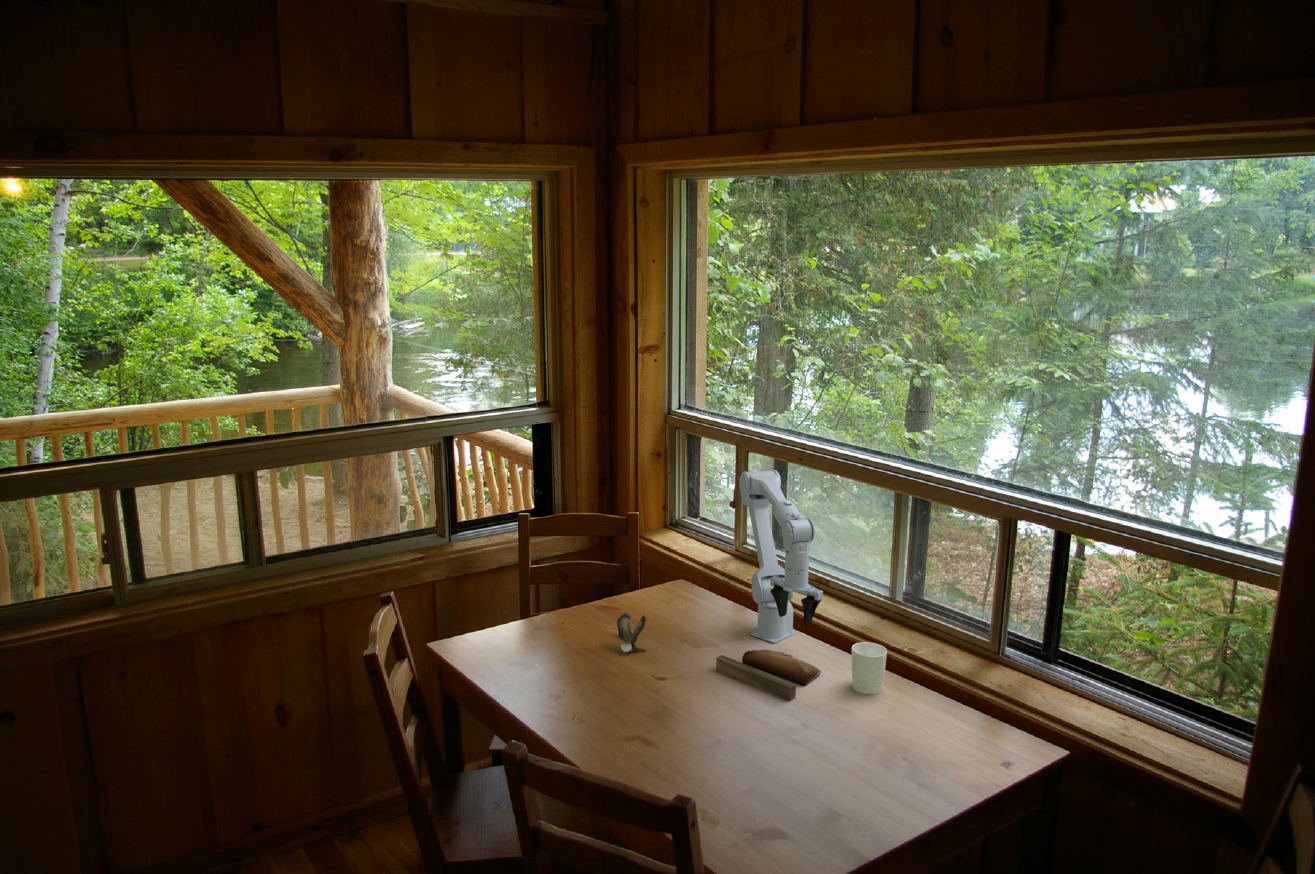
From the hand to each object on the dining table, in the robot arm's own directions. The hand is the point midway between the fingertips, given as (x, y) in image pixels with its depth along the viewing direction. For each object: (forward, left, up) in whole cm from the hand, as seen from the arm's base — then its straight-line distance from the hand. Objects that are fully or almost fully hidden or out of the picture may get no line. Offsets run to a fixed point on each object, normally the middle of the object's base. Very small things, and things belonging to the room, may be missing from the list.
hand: (795, 619), depth 219 cm
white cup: (+1, +22, -11) cm, 24 cm away
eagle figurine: (+25, -32, -11) cm, 42 cm away
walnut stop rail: (+17, +2, -10) cm, 20 cm away
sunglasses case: (+5, +2, -11) cm, 13 cm away
